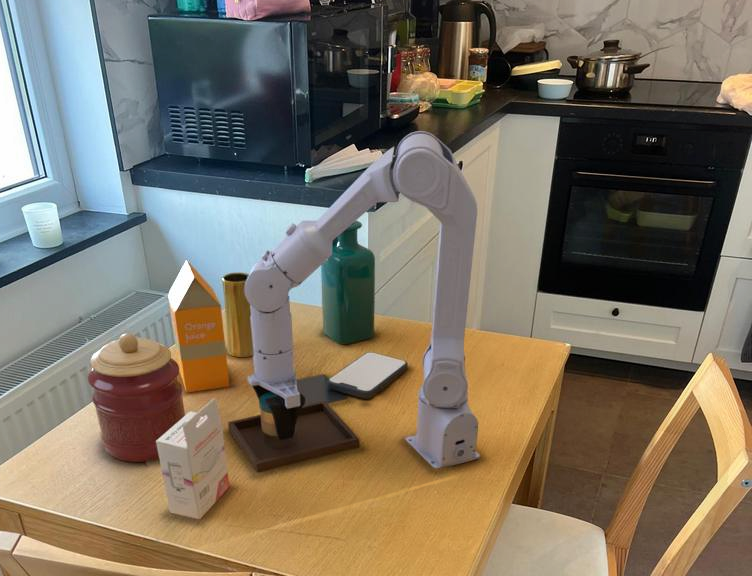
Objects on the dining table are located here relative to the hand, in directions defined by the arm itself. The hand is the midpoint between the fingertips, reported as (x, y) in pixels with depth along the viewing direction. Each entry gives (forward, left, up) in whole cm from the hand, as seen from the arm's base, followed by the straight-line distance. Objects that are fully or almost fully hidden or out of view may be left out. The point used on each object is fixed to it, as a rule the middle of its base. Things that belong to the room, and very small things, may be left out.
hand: (279, 428), depth 118 cm
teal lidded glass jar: (0, 0, -2) cm, 2 cm away
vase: (+34, -6, -3) cm, 35 cm away
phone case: (+13, -22, -2) cm, 25 cm away
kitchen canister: (+9, +18, -3) cm, 21 cm away
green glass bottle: (+33, -27, -3) cm, 42 cm away
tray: (-1, -2, -2) cm, 3 cm away
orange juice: (+26, +4, -3) cm, 27 cm away
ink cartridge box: (-10, +15, -3) cm, 19 cm away
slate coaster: (+12, -10, -2) cm, 16 cm away
